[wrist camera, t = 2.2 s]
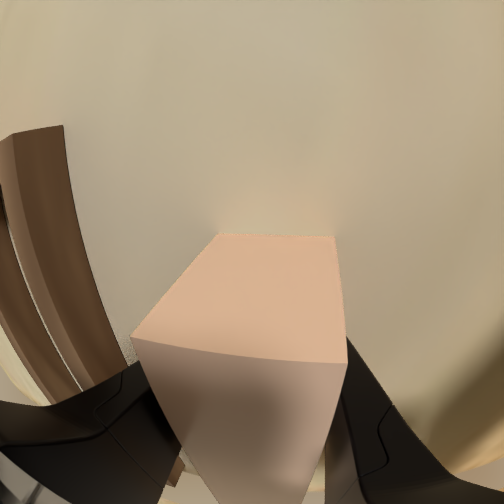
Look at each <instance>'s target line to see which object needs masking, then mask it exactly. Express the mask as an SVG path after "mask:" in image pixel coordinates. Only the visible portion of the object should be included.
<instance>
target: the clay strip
mask: <svg viewBox="0 0 504 504" xmlns="http://www.w3.org/2000/svg"><path fill="white" fill-rule="evenodd" d="M130 339H131V341H132V344H133V346H134V349H135V351H136V354H137V356H138V359H139V361H140V363H141V366H142V368H143V370H144V373H145V375H146V377H147V379H148V382H149V384H150V386H151V388H152V390H153V392H154V394H155V396H156V399H157V401H158V403H159V405H160V407H161V409H162V411H163V413H164V415H165V416H166V418H167V420H168V422H169V424H170V426H171V428H172V430H173V431H174V433H175V435H176V437H177V439H178V440H179V442H180V444H181V446H182V447H183V449H184V451H185V452H186V454H187V456H188V457H189V459H190V461H191V462H192V464H193V465H194V467H195V469H196V470H197V472H198V473H199V475H200V476H201V478H202V479H203V481H204V482H205V484H206V485H207V487H208V488H209V490H210V491H211V492H212V494H213V495H214V497H215V498H216V500H217V501H218V502H219V504H301V503H302V501H303V499H304V496H305V494H306V492H307V489H308V487H309V484H310V482H311V479H312V477H313V474H314V472H315V469H316V467H317V464H318V461H319V459H320V456H321V453H322V450H323V447H324V444H325V441H326V438H327V435H328V432H329V429H330V426H331V423H332V420H333V417H334V413H335V410H336V406H337V403H338V399H339V396H340V392H341V388H342V385H343V381H344V377H345V373H346V369H347V365H348V358H347V342H346V329H345V318H344V307H343V298H342V289H341V280H340V272H339V264H338V257H337V250H336V243H335V237H324V236H294V235H258V234H217V235H216V236H215V237H214V238H213V239H212V240H211V242H210V243H209V244H208V245H207V246H206V247H205V248H204V249H203V251H202V252H201V253H200V254H199V255H198V256H197V257H196V259H195V260H194V261H193V262H192V263H191V264H190V265H189V267H188V268H187V269H186V270H185V271H184V272H183V273H182V275H181V276H180V277H179V278H178V279H177V280H176V282H175V283H174V284H173V285H172V286H171V287H170V289H169V290H168V291H167V292H166V293H165V295H164V296H163V297H162V298H161V299H160V300H159V302H158V303H157V304H156V305H155V306H154V308H153V309H152V310H151V311H150V312H149V314H148V315H147V316H146V317H145V318H144V320H143V321H142V322H141V323H140V324H139V326H138V327H137V328H136V329H135V331H134V332H133V333H132V334H131V335H130Z"/></svg>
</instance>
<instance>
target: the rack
mask: <svg viewBox="0 0 504 504" xmlns="http://www.w3.org/2000/svg"><path fill="white" fill-rule="evenodd" d="M0 184H1V188H2V193H3V198H4V203H5V208H6V212H7V216H8V221H9V225H10V228H11V232H12V236H13V239H14V243H15V246H16V249H17V253H18V256H19V259H20V262H21V265H22V268H23V271H24V273H25V276H26V279H27V281H28V284H29V287H30V289H31V292H32V294H33V297H34V299H35V301H36V304H37V306H38V308H39V311H40V313H41V315H42V317H43V319H44V322H45V324H46V326H47V328H48V330H49V332H50V334H51V336H52V338H53V340H54V342H55V344H56V345H57V347H58V349H59V351H60V353H61V355H62V356H63V358H64V360H65V362H66V363H67V365H68V367H69V369H70V370H71V372H72V373H73V375H74V377H75V378H76V380H77V382H78V383H79V385H80V386H81V388H82V389H83V391H85V390H87V389H89V388H91V387H93V386H95V385H97V384H99V383H101V382H103V381H105V380H106V379H108V378H110V377H112V376H113V375H115V374H117V373H118V372H120V371H121V372H122V370H124V369H125V368H127V367H128V366H127V364H126V361H125V359H124V357H123V355H122V353H121V350H120V348H119V346H118V343H117V341H116V339H115V336H114V334H113V332H112V329H111V327H110V324H109V322H108V319H107V316H106V314H105V311H104V308H103V306H102V303H101V300H100V297H99V294H98V291H97V288H96V285H95V282H94V279H93V276H92V273H91V270H90V266H89V263H88V260H87V256H86V253H85V249H84V245H83V242H82V238H81V234H80V230H79V226H78V221H77V217H76V212H75V208H74V203H73V198H72V192H71V187H70V181H69V175H68V168H67V161H66V154H65V145H64V135H63V125H59V126H52V127H46V128H40V129H34V130H29V131H24V132H19V133H14V134H11V135H10V136H8V137H7V138H5V139H3V140H2V141H0ZM0 324H1V326H2V328H3V330H4V332H5V334H6V336H7V337H8V339H9V341H10V343H11V345H12V346H13V348H14V350H15V352H16V353H17V355H18V357H19V358H20V360H21V361H22V363H23V365H24V366H25V368H26V369H27V371H28V372H29V374H30V375H31V377H32V378H33V380H34V381H35V383H36V384H37V386H38V387H39V388H40V390H41V391H42V392H43V394H44V395H45V397H46V398H47V399H48V400H49V402H50V403H51V404H52V405H53V404H56V403H58V402H61V401H63V400H65V399H67V398H70V397H72V396H74V395H76V394H79V393H81V390H80V389H79V387H78V386H77V384H76V383H75V381H74V380H73V378H72V376H71V375H70V373H69V372H68V370H67V368H66V367H65V365H64V363H63V361H62V360H61V358H60V356H59V354H58V353H57V351H56V349H55V347H54V345H53V343H52V341H51V340H50V338H49V336H48V334H47V332H46V330H45V328H44V326H43V324H42V321H41V319H40V317H39V315H38V313H37V311H36V308H35V306H34V304H33V301H32V299H31V297H30V294H29V292H28V289H27V287H26V284H25V282H24V279H23V276H22V274H21V271H20V268H19V265H18V262H17V259H16V256H15V253H14V250H13V246H12V243H11V240H10V236H9V233H8V229H7V225H6V221H5V217H4V213H3V208H2V204H1V199H0ZM184 466H185V465H184V463H183V462H182V460H181V459H180V457H179V456H178V457H177V459H176V461H175V464H174V466H173V468H172V471H171V473H170V475H169V478H168V480H167V482H166V484H167V485H169V486H172V487H175V486H176V484H177V482H178V479H179V477H180V475H181V473H182V470H183V468H184Z"/></svg>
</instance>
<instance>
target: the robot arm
mask: <svg viewBox="0 0 504 504" xmlns="http://www.w3.org/2000/svg"><path fill="white" fill-rule="evenodd" d="M346 342H347V358H348V365H347V369H346V373H345V377H344V381H343V385H342V388H341V392H340V396H339V399H338V403H337V406H336V410H335V413H334V417H333V420H332V423H331V426H330V429H329V432H328V435H327V438H326V441H325V504H504V492H502V491H498V490H494V489H490V488H487V487H483V486H480V485H477V484H473V483H470V482H467V481H464V480H461V479H459V478H457V477H455V476H454V475H452V474H451V473H450V472H448V471H447V470H446V469H445V468H444V467H443V466H442V465H441V463H440V462H439V461H438V460H437V459H436V458H435V457H434V455H433V454H432V453H431V452H430V451H429V450H428V449H427V447H426V446H425V445H424V444H423V443H422V442H421V440H420V439H419V438H418V437H417V436H416V435H415V433H414V432H413V431H412V430H411V428H410V427H409V426H408V424H407V423H406V422H405V420H404V419H403V417H402V416H401V415H400V413H399V412H398V410H397V409H396V407H395V406H394V405H392V404H393V403H392V401H391V400H390V398H389V397H388V395H387V394H386V392H385V391H384V390H383V388H382V387H381V385H380V384H379V382H378V381H377V379H376V378H375V376H374V375H373V373H372V372H371V371H370V369H369V368H368V366H367V365H366V363H365V362H364V360H363V359H362V358H361V356H360V355H359V353H358V352H357V350H356V349H355V348H354V346H353V345H352V343H351V342H350V340H349V339H348V338H347V336H346ZM181 447H182V446H181V444H180V442H179V440H178V439H177V437H176V435H175V433H174V431H173V430H172V428H171V426H170V424H169V422H168V420H167V418H166V416H165V415H164V413H163V411H162V409H161V407H160V405H159V403H158V401H157V399H156V396H155V394H154V392H153V390H152V388H151V386H150V384H149V382H148V379H147V377H146V375H145V373H144V370H143V368H142V366H141V363H140V361H139V360H138V361H137V362H135V363H134V364H132V365H130V366H129V367H127V368H125V369H124V370H122V372H121V371H120V372H118V373H117V374H115V375H113V376H112V377H110V378H108V379H106V380H105V381H103V382H101V383H99V384H97V385H95V386H93V387H91V388H89V389H87V390H85V391H83V392H81V393H79V394H76V395H74V396H72V397H70V398H67V399H65V400H63V401H61V402H58V403H56V404H53V405H49V406H31V405H24V404H17V403H12V402H6V401H1V400H0V504H157V503H158V501H159V499H160V497H161V494H162V492H163V488H164V487H165V485H166V482H167V480H168V478H169V475H170V473H171V471H172V468H173V466H174V464H175V461H176V459H177V457H178V454H179V452H180V450H181Z"/></svg>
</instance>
